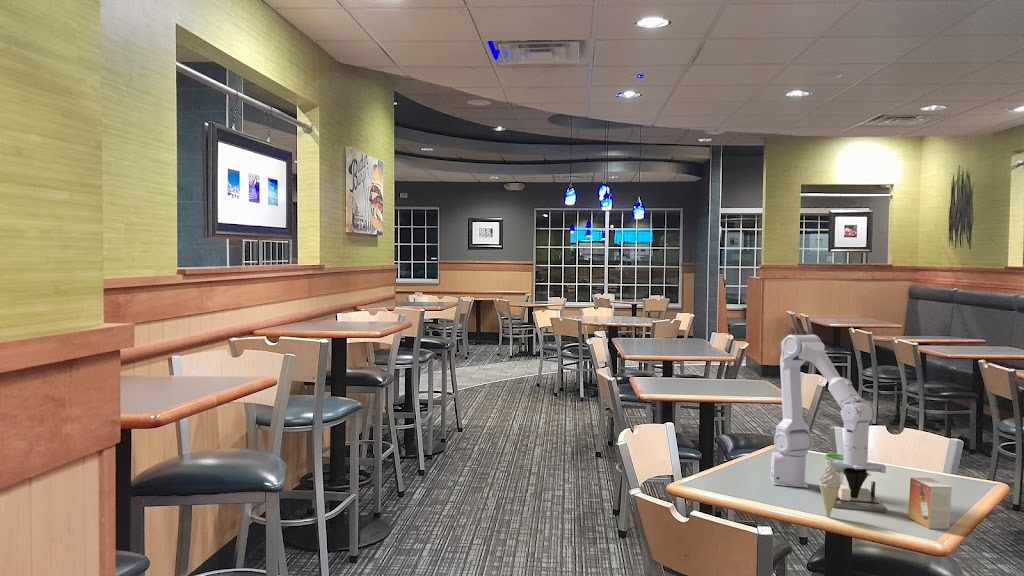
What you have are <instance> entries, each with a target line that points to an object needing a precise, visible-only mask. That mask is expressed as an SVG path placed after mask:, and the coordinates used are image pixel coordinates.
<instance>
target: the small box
mask: <svg viewBox="0 0 1024 576" xmlns="http://www.w3.org/2000/svg"><path fill="white" fill-rule="evenodd" d="M909 478H910V480H909V481H910V482H909V496H908V497H909V498H908V500H909V501H908V513H907V514H908V515H907V517H908V519H911V520H912V521H914V522H916V523H917V524H920V525H922V526H923V527H925V528H926V529H928V530H949V529H950V523H951V522H950V521H951V507H952V490H953V489H952V487H953V486H950V485H948V484H945V483H942V482H940V481H938V480H935V479H933V478H931V477H909Z"/></svg>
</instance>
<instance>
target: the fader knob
mask: <svg viewBox="0 0 1024 576" xmlns="http://www.w3.org/2000/svg"><path fill="white" fill-rule="evenodd" d="M850 494H851V489H850V488H849V485H844V484H843V485H840V488H839V491H838V497H839V498H840V499H841V500H847V501H850Z"/></svg>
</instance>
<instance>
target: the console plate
mask: <svg viewBox="0 0 1024 576" xmlns="http://www.w3.org/2000/svg"><path fill="white" fill-rule="evenodd" d="M870 482H871V483H870V489H869V488H865V487H864V488H862V487H861V488H860V491H859V494H858V498H852V497H851V495H850V501H847V500H841V499H840V498H839V497H838V494H837V497H836V499H835V502H834V505H833V508H835V509H845V510H855V511H863V512H875V513H876V512H878V513H887V512H888V511H887V510H888V508H887V507H886V505H884V504H883V503H882V502H881V500H879V499H878V498H877V496H876V481H870ZM818 489H819V491H820V492H821V490H820V486H819V485H818ZM833 508H832V509H833Z"/></svg>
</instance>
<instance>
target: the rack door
mask: <svg viewBox="0 0 1024 576" xmlns="http://www.w3.org/2000/svg"><path fill="white" fill-rule="evenodd" d="M837 474H838V475H839V477H840V480H841V484H840V485H843V486H844V473H843V472H840V473H837Z"/></svg>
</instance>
